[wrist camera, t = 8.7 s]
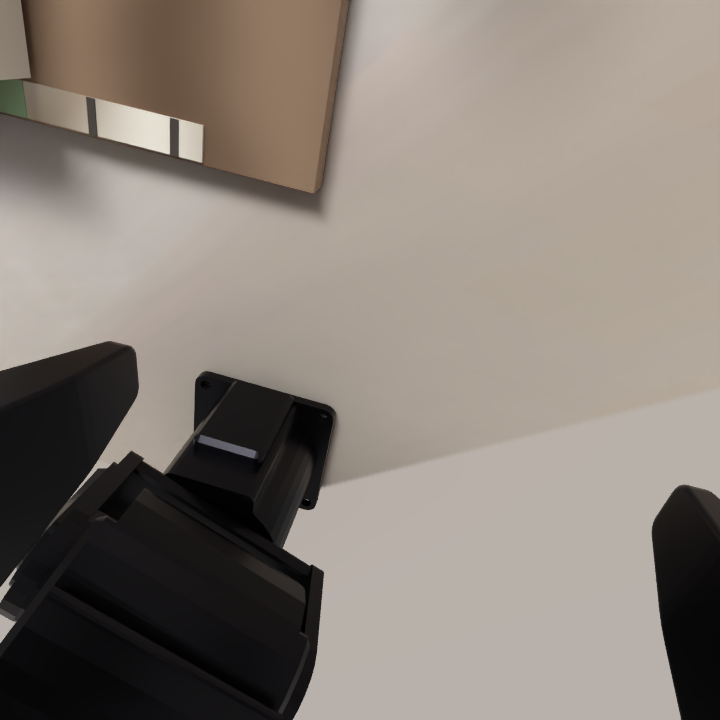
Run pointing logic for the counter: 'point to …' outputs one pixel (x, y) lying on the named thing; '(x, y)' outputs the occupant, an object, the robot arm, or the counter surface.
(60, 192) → the counter surface
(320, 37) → the base
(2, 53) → the gauge carriage
